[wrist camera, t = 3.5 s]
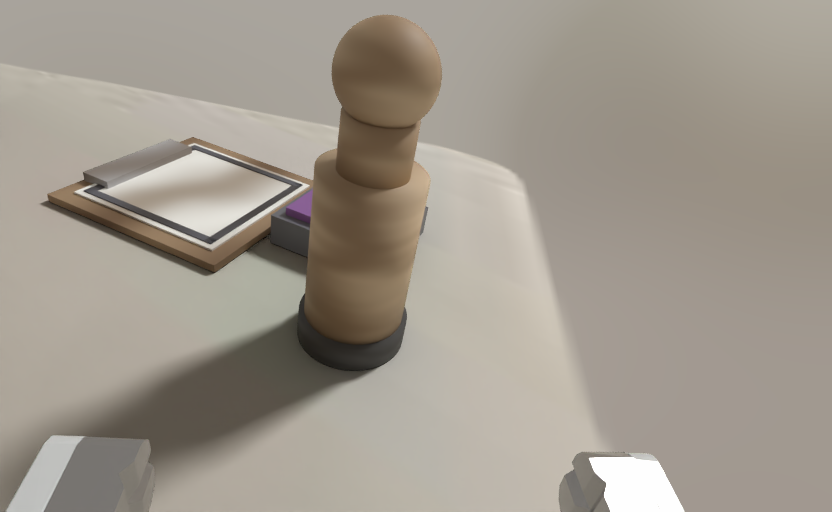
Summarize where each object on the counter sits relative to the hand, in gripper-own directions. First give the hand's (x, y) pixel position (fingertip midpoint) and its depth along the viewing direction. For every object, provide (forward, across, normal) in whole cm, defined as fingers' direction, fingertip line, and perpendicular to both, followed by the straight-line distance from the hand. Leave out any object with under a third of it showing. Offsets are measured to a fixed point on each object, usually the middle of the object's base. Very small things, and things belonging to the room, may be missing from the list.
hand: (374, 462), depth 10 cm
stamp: (+11, 0, +6) cm, 12 cm away
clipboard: (+21, +8, +6) cm, 23 cm away
